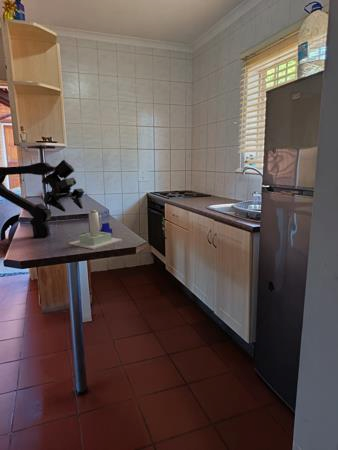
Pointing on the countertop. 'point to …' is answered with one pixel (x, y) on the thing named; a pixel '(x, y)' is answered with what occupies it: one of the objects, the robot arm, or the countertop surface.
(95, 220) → the connector plug
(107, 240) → the end holder
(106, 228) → the cable clip
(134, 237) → the countertop surface
